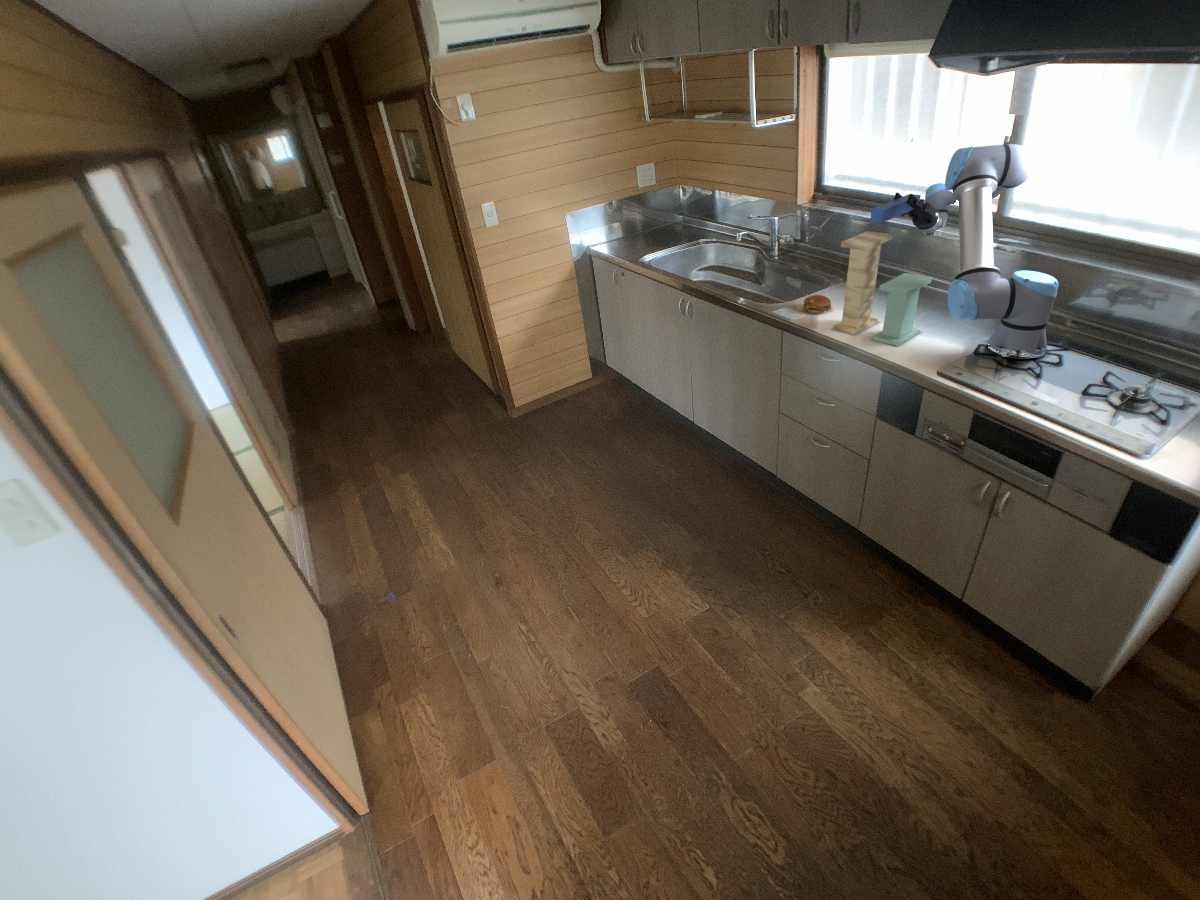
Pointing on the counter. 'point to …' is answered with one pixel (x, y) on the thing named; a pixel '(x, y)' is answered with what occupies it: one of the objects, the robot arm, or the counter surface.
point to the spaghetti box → (891, 209)
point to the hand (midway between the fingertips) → (902, 197)
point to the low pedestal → (901, 308)
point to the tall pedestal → (861, 281)
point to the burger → (817, 304)
